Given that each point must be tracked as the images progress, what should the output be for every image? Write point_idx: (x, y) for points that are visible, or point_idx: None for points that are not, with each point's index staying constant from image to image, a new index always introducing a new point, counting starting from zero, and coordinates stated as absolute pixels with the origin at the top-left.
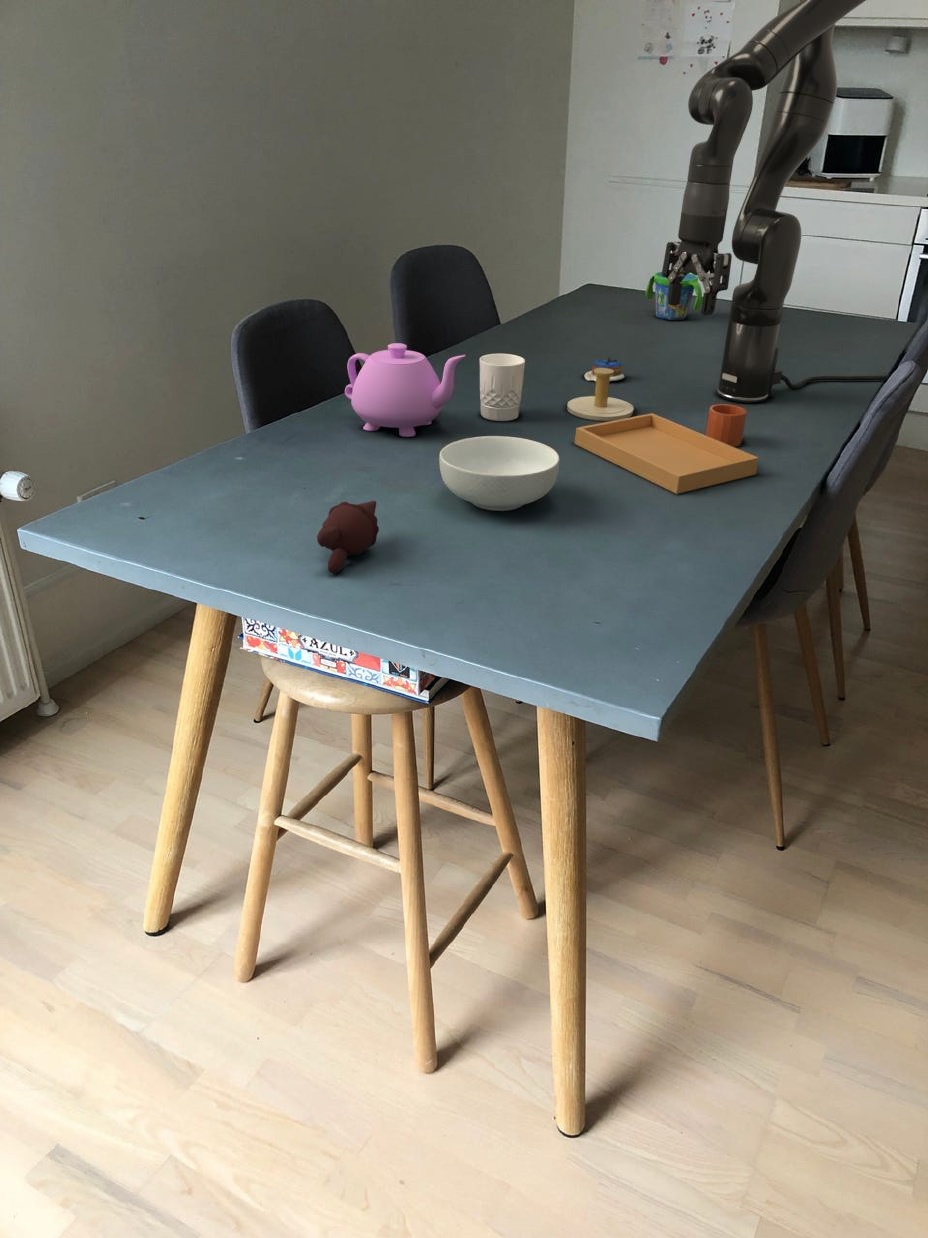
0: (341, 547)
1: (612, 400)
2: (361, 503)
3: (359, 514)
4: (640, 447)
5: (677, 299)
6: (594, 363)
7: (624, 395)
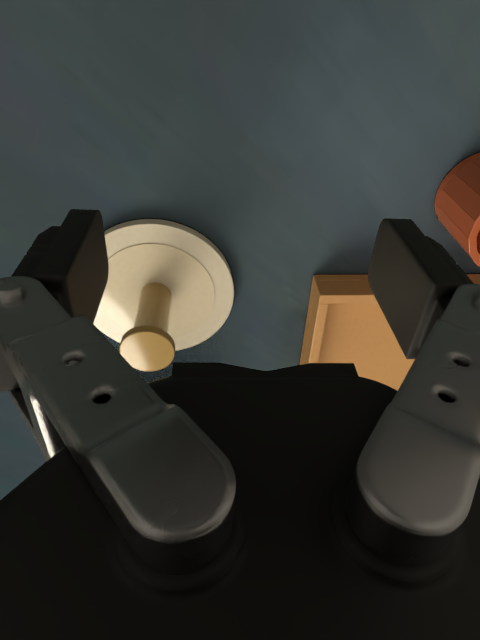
0: None
1: (132, 251)
2: None
3: None
4: (390, 366)
5: (98, 244)
6: None
7: (63, 159)
